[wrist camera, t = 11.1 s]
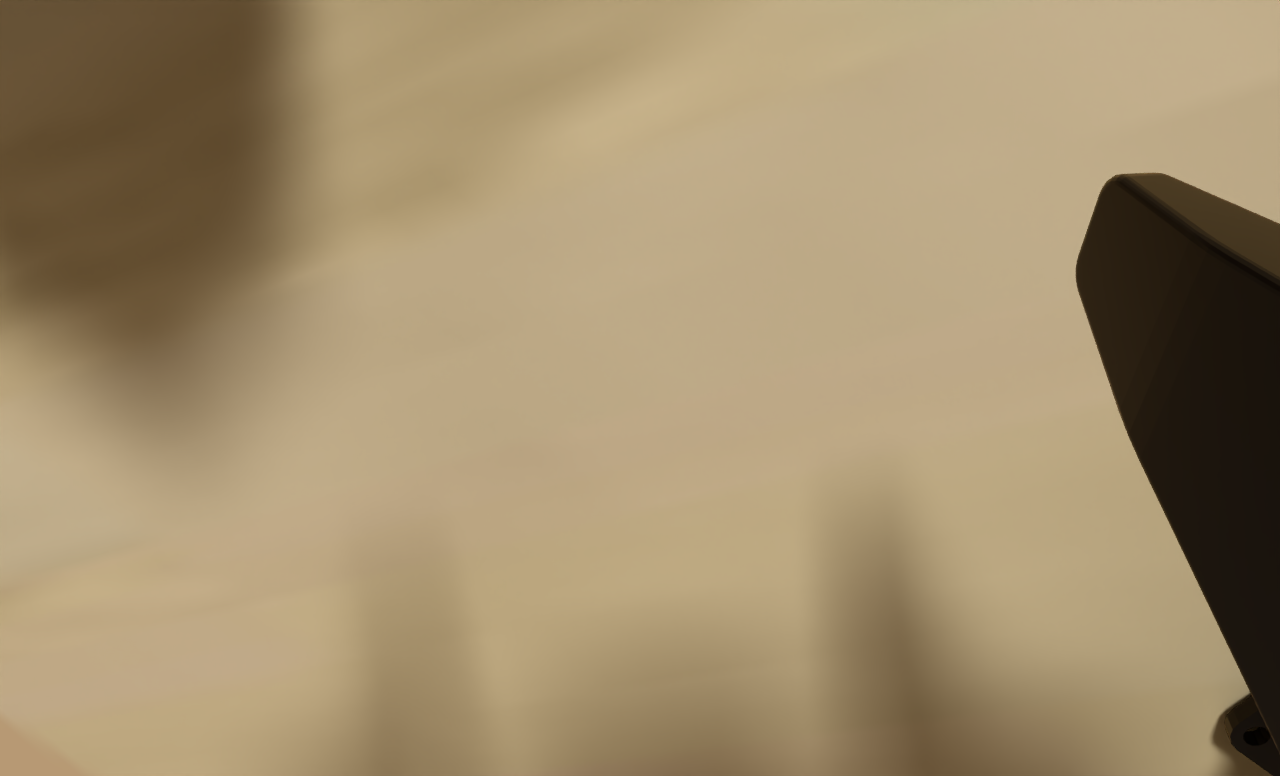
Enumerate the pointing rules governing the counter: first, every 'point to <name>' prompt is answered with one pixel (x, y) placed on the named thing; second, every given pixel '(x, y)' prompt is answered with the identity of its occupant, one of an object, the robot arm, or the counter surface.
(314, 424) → the counter surface
